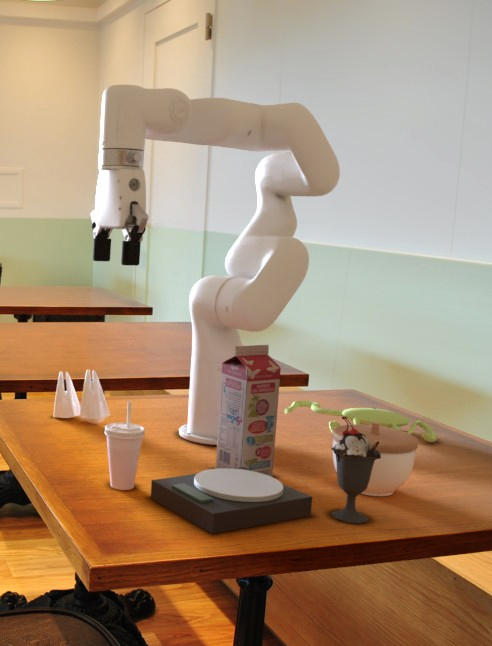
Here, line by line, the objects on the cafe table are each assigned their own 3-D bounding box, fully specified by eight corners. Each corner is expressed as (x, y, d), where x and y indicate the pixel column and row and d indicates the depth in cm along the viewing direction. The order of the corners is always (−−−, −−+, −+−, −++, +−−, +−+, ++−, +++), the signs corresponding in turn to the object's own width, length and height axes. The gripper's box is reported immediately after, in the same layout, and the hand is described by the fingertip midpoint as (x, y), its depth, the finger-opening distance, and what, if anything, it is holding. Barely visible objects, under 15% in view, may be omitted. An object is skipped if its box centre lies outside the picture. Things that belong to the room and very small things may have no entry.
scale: (242, 484, 135) (244, 461, 135) (310, 516, 122) (313, 491, 121) (150, 498, 128) (151, 475, 127) (212, 534, 115) (214, 508, 114)
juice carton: (215, 469, 143) (223, 343, 139) (246, 465, 145) (255, 341, 142) (240, 481, 137) (249, 350, 133) (272, 476, 139) (282, 348, 136)
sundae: (317, 509, 125) (325, 412, 122) (360, 508, 126) (369, 412, 123) (337, 526, 118) (346, 424, 116) (382, 525, 119) (392, 424, 117)
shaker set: (111, 423, 171) (113, 370, 169) (100, 427, 168) (102, 374, 166) (62, 413, 178) (64, 363, 176) (51, 417, 175) (53, 365, 173)
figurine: (273, 424, 174) (275, 398, 173) (386, 419, 179) (389, 394, 178) (323, 449, 156) (326, 420, 155) (447, 444, 161) (450, 416, 160)
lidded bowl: (406, 508, 126) (414, 438, 124) (320, 491, 133) (326, 425, 131) (417, 485, 137) (424, 420, 135) (336, 471, 143) (342, 409, 141)
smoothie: (141, 494, 130) (145, 407, 127) (100, 491, 131) (103, 404, 128) (143, 481, 136) (147, 398, 133) (104, 478, 137) (107, 395, 135)
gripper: (168, 161, 134) (161, 267, 137) (114, 164, 150) (109, 259, 152) (128, 158, 131) (122, 266, 134) (77, 162, 147) (72, 259, 149)
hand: (115, 263), depth 143 cm, fingers open, 9 cm apart
